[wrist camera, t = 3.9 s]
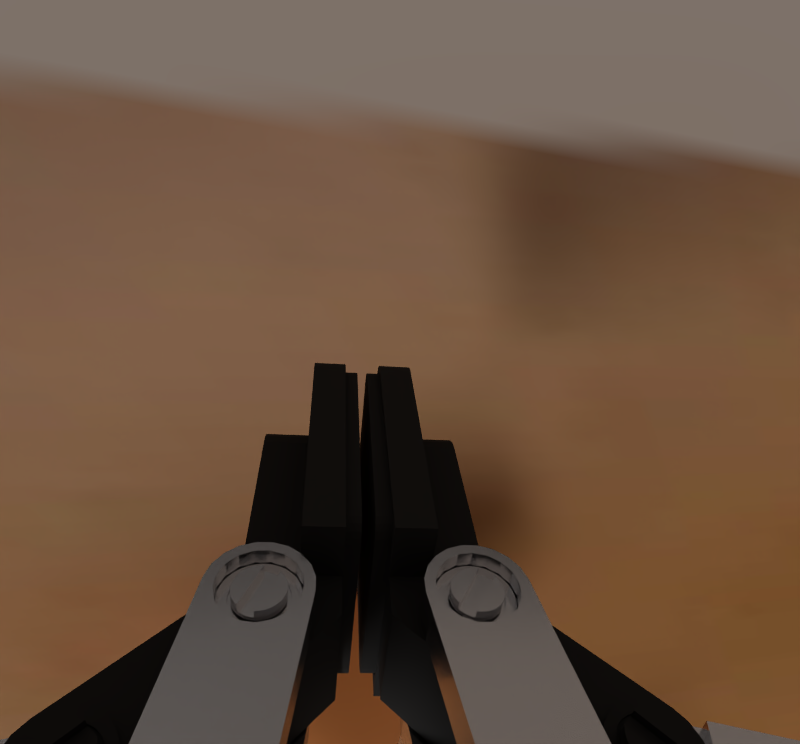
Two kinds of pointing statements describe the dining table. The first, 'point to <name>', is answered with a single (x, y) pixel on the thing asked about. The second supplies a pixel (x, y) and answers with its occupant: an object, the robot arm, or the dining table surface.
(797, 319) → the dining table surface
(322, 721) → the ball
